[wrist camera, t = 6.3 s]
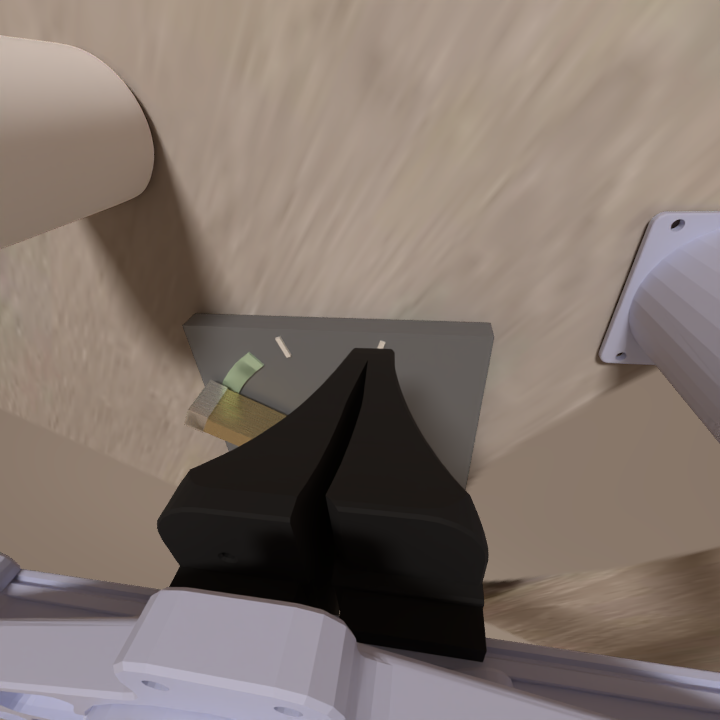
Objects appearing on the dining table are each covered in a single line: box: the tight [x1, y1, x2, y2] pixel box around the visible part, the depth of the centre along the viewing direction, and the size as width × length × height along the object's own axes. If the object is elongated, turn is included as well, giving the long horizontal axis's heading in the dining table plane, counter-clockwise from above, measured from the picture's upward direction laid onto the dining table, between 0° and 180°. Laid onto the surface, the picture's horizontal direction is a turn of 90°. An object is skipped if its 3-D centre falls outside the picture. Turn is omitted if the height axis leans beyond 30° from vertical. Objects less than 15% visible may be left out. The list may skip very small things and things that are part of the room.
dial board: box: [182, 314, 494, 490], centre depth 27 cm, size 18×18×2 cm
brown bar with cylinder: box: [184, 380, 286, 446], centre depth 24 cm, size 4×12×3 cm, turn 64°
